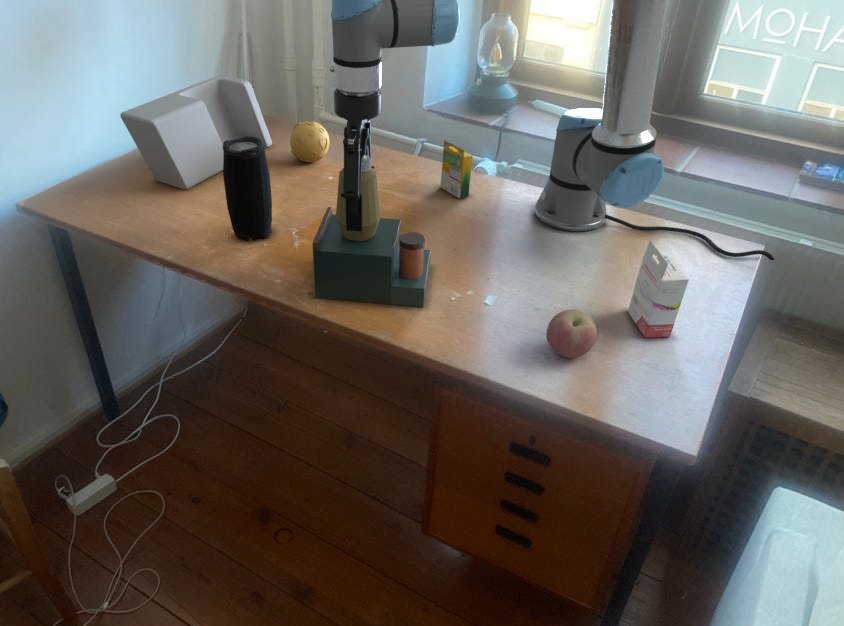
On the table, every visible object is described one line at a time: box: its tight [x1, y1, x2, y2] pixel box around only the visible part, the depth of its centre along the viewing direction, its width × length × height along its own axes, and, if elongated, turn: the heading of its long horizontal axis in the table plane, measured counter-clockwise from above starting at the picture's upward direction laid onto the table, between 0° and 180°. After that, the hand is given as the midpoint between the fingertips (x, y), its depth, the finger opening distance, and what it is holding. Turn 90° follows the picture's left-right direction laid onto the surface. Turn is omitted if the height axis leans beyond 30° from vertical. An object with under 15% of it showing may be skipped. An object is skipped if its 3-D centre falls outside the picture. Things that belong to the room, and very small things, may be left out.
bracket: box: [119, 74, 273, 191], centre depth 169 cm, size 30×10×30 cm, turn 149°
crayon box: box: [440, 139, 473, 200], centre depth 163 cm, size 7×3×12 cm, turn 34°
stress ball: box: [289, 120, 331, 163], centre depth 176 cm, size 10×10×10 cm
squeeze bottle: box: [335, 149, 381, 241], centre depth 123 cm, size 8×8×18 cm
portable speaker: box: [222, 136, 273, 243], centre depth 143 cm, size 9×9×20 cm
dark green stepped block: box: [311, 206, 432, 308], centre depth 131 cm, size 20×14×12 cm
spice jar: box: [399, 231, 426, 279], centre depth 128 cm, size 5×5×7 cm
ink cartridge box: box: [627, 240, 690, 339], centre depth 121 cm, size 9×5×15 cm, turn 5°
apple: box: [545, 309, 598, 359], centre depth 116 cm, size 8×8×8 cm
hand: (358, 218), depth 127 cm, fingers closed on squeeze bottle, 8 cm apart
